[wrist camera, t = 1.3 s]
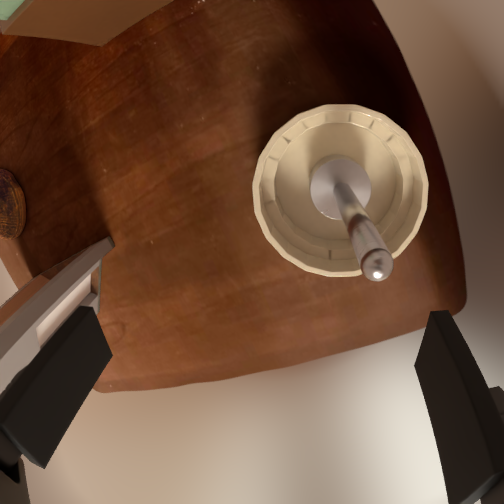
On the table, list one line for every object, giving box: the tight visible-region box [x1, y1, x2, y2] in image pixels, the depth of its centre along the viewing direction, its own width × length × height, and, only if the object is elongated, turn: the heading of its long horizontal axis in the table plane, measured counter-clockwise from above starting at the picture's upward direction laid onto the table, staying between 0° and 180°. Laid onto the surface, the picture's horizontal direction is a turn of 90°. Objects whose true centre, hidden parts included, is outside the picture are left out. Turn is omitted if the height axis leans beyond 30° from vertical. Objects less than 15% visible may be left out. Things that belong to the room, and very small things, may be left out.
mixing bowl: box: [252, 104, 428, 277], centre depth 30 cm, size 16×16×6 cm
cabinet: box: [0, 236, 115, 394], centre depth 31 cm, size 21×10×28 cm, turn 114°
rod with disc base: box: [309, 154, 393, 281], centre depth 23 cm, size 6×6×19 cm
